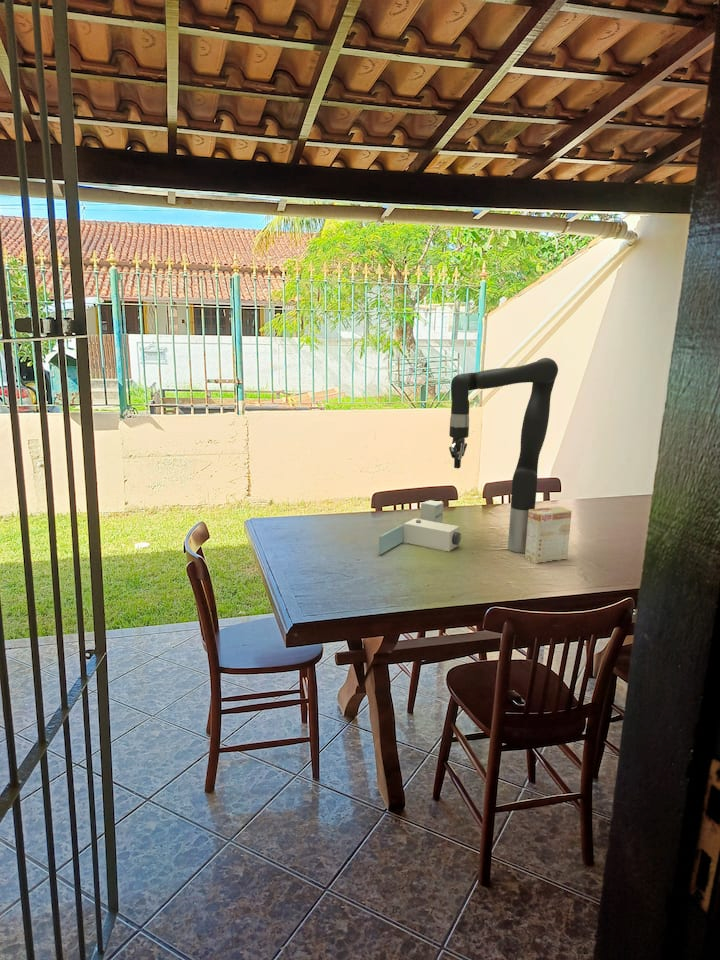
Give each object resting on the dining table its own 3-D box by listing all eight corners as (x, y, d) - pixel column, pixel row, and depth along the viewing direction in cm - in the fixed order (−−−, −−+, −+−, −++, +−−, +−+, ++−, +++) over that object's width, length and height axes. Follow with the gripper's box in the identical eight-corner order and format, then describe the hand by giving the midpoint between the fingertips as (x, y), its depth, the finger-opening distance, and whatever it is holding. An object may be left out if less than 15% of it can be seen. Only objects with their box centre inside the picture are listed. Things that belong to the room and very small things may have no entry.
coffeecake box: (555, 553, 244) (560, 505, 240) (567, 559, 238) (572, 510, 234) (523, 557, 239) (527, 508, 235) (535, 564, 233) (539, 513, 228)
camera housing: (461, 546, 251) (463, 525, 249) (452, 552, 243) (453, 530, 241) (414, 536, 262) (415, 516, 260) (403, 542, 255) (404, 521, 253)
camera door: (381, 554, 238) (382, 536, 236) (378, 553, 238) (379, 535, 237) (404, 541, 254) (404, 524, 252) (401, 540, 255) (402, 523, 253)
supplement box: (434, 534, 266) (435, 505, 263) (419, 530, 270) (420, 502, 268) (442, 530, 272) (444, 502, 269) (428, 527, 276) (429, 499, 273)
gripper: (457, 422, 254) (455, 464, 258) (443, 426, 243) (441, 469, 247) (474, 424, 250) (472, 466, 254) (461, 427, 239) (459, 471, 243)
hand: (457, 467), depth 250 cm, fingers closed
